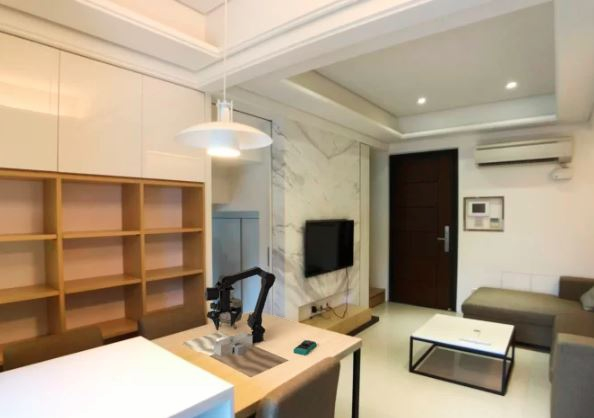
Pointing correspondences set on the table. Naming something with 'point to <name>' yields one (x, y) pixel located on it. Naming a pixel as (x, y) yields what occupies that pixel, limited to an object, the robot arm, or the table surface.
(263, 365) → the base board
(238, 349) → the plug
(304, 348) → the digital multimeter
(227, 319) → the tabletop clock
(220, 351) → the motor housing
